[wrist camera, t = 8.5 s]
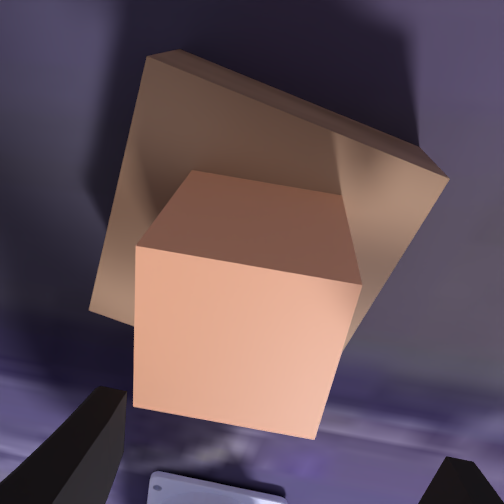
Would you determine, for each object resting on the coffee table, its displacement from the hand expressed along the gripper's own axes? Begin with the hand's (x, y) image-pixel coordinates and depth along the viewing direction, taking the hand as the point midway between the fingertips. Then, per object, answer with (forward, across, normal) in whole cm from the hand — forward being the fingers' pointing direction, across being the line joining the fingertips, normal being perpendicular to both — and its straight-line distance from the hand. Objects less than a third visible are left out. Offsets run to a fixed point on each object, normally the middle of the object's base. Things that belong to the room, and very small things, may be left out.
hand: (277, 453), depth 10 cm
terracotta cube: (+6, +1, -2) cm, 6 cm away
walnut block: (+10, +2, -2) cm, 10 cm away
